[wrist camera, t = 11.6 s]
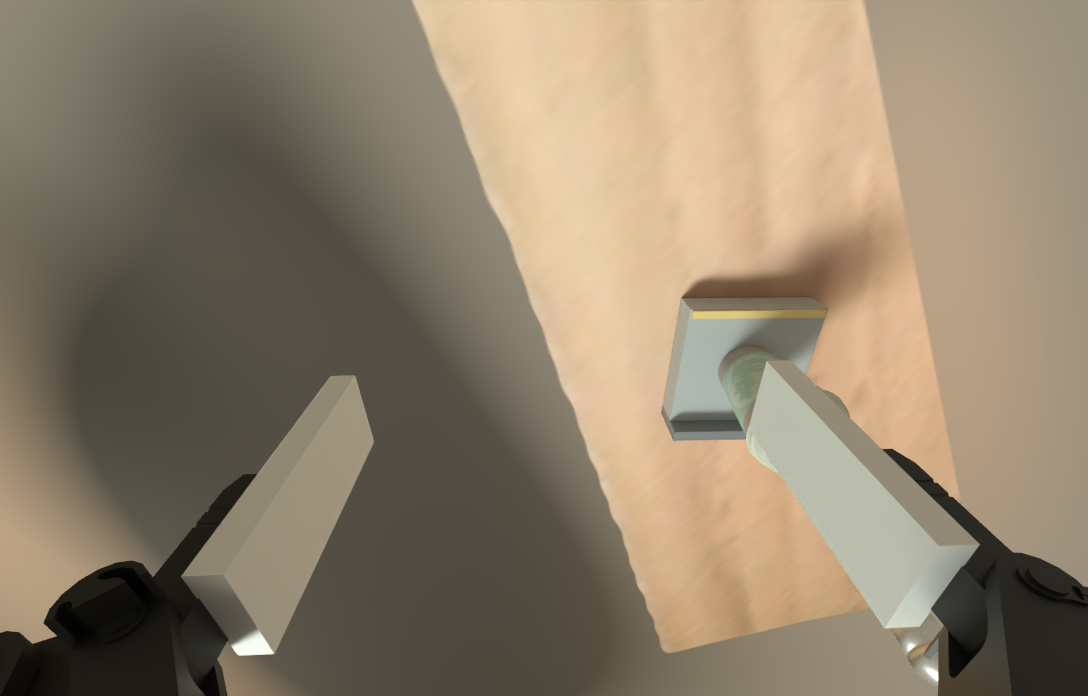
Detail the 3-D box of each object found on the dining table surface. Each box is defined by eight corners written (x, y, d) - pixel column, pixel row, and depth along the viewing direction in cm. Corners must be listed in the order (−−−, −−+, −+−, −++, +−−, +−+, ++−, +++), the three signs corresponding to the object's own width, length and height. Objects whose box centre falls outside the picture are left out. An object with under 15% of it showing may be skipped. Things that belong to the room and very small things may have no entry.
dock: (681, 297, 45) (697, 317, 41) (811, 297, 46) (841, 316, 41) (661, 413, 53) (673, 440, 48) (773, 411, 53) (795, 438, 49)
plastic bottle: (878, 566, 69) (997, 720, 51) (836, 570, 69) (939, 726, 52) (888, 540, 66) (1019, 695, 48) (844, 545, 66) (957, 701, 49)
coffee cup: (778, 320, 43) (858, 387, 33) (790, 384, 47) (864, 462, 37) (696, 351, 45) (747, 424, 34) (714, 410, 49) (765, 492, 38)
